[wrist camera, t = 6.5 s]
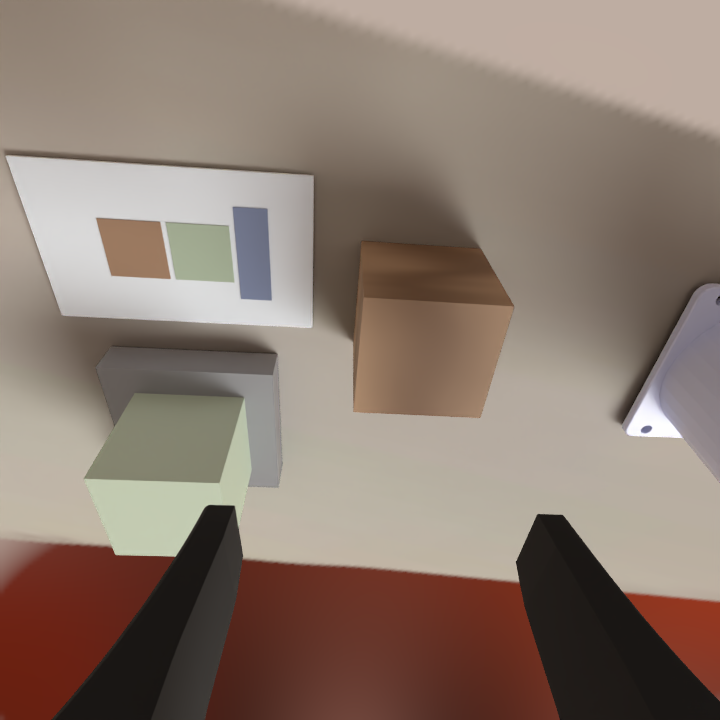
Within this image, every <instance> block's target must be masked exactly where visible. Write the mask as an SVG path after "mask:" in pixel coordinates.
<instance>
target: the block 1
mask: <svg viewBox="0 0 720 720" xmlns="http://www.w3.org/2000/svg"><path fill="white" fill-rule="evenodd" d="M251 470H252V468H251V459H250V449H249V439H248V429H247V419H246V409H245V399H244V397H219V396H195V395H171V394H147V393H134V395H133V397H132V398H131V400H130V402H129V403H128V405H127V407H126V408H125V410H124V412H123V413H122V415H121V417H120V418H119V420H118V422H117V424H116V425H115V427H114V429H113V430H112V432H111V434H110V435H109V437H108V439H107V440H106V442H105V444H104V445H103V447H102V449H101V451H100V452H99V454H98V456H97V457H96V459H95V461H94V462H93V464H92V466H91V467H90V469H89V471H88V472H87V474H86V476H85V477H84V481H85V483H86V486H87V488H88V490H89V493H90V495H91V498H92V500H93V502H94V505H95V507H96V509H97V512H98V514H99V517H100V519H101V521H102V524H103V526H104V528H105V531H106V533H107V536H108V538H109V540H110V543H111V545H112V547H113V550H114V552H115V554H116V555H142V556H143V555H144V556H176V555H177V554H178V552H179V551H180V549H181V547H182V546H183V544H184V543H185V541H186V539H187V538H188V536H189V534H190V533H191V531H192V529H193V527H194V526H195V524H196V522H197V520H198V519H199V517H200V515H201V513H202V511H203V510H204V508H205V507H206V506H208V505H234V506H235V509H236V516H237V522H238V528H239V524H240V519H241V515H242V510H243V506H244V501H245V497H246V493H247V488H248V484H249V479H250V475H251Z"/></svg>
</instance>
